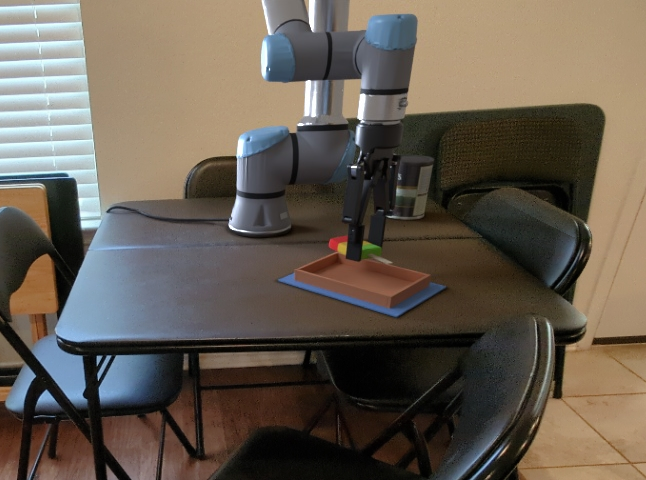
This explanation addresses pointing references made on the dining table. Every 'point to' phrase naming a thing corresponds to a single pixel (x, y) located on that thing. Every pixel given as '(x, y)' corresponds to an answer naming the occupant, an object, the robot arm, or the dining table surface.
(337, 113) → the robot arm
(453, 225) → the dining table surface
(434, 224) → the dining table surface
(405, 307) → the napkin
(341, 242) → the popsicle
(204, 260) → the dining table surface
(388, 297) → the tray
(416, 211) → the coffee can
